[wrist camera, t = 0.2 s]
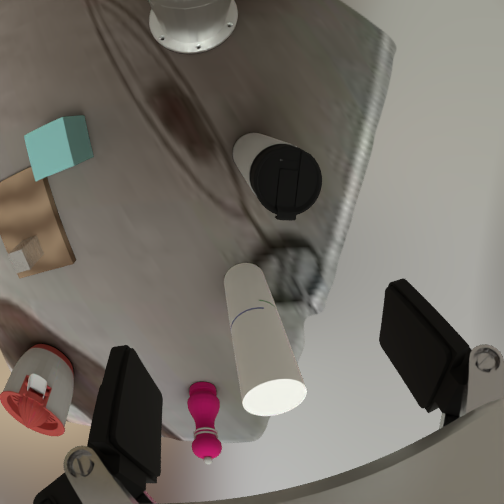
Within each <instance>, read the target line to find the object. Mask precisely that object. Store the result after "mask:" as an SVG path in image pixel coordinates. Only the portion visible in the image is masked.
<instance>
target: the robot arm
mask: <svg viewBox="0 0 504 504" xmlns="http://www.w3.org/2000/svg"><path fill="white" fill-rule="evenodd" d="M148 2H149V4H150V6H151V8H152V9H151V12H150V16H149V26H150V30H151V33H152V35H153V36H154V38H155V39H156V41H157V42H158V43H159V44H161V45H162V46H163V47H165V48H166V49H168V50H170V51H173V52H176V53H182V54H196V53H202V52H205V51H209V50H211V49H213V48H215V47H217V46H219V45H220V44H222V43H223V42H224V41H225V40H226V39H227V38H228V37H229V36H230V35H231V33H232V32H233V30H234V28H235V26H236V23H237V19H238V9H237V5H236V3H235V1H234V0H148ZM229 25H230V26H231V27H230V28H229V27H228V26H229ZM162 38H165V39H164V40H161V39H162ZM197 47H201V48H200V49H197ZM379 341H380V345H381V347H382V349H383V350H384V351H385V353H386V355H387V356H388V357H389V359H390V361H391V362H392V364H393V365H394V367H395V368H396V370H397V371H398V373H399V374H400V376H401V377H402V379H403V381H404V382H405V384H406V385H407V387H408V388H409V390H410V391H411V393H412V395H413V396H414V398H415V399H416V401H417V402H418V404H419V406H420V407H421V408H425V409H426V410H427V412H428V413H429V412H431V411H433V410H435V409H437V408H439V409H440V410H441V412H442V416H441V422H440V427H439V430H437V431H435V432H434V433H432V434H430V435H428V436H426V437H424V438H422V439H420V440H418V441H416V442H414V443H413V444H410V445H408V446H406V447H404V448H402V449H400V450H398V451H396V452H394V453H392V454H389V455H387V456H385V457H382V458H380V459H378V460H375V461H373V462H370V463H368V464H365V465H363V466H360V467H357V468H355V469H352V470H349V471H346V472H344V473H340V474H338V475H335V476H331V477H328V478H325V479H322V480H318V481H315V482H311V483H308V484H304V485H300V486H296V487H292V488H288V489H284V490H279V491H275V492H269V493H264V494H259V495H253V496H247V497H241V498H233V499H226V500H216V501H205V502H190V503H170V504H504V360H503V356H502V354H501V353H500V352H499V351H498V350H497V349H496V348H494V347H493V346H490V345H486V344H485V345H479V346H476V347H475V348H473V350H471V349H470V348H469V345H468V344H467V343H466V342H465V341H464V339H463V338H462V337H461V336H460V335H459V334H458V333H457V332H456V331H455V330H454V329H453V327H452V326H450V324H449V323H448V322H447V321H446V320H445V319H444V318H443V317H442V316H441V315H440V314H439V313H438V312H437V310H436V309H435V308H434V307H433V306H432V305H431V304H430V303H429V302H428V301H427V300H426V299H425V298H424V297H423V296H422V295H421V294H420V293H419V292H418V291H417V290H416V289H415V288H414V287H413V286H412V285H411V284H410V283H409V282H408V281H407V280H405V279H400V280H397V281H394V282H391V283H390V284H389V286H388V287H387V288H386V290H385V298H384V307H383V315H382V323H381V330H380V337H379ZM162 403H163V399H162V394H161V392H160V390H159V389H158V387H157V386H156V384H155V383H154V381H153V379H152V378H151V376H150V375H149V373H148V371H147V370H146V368H145V367H144V365H143V363H142V362H141V360H140V358H139V357H138V355H137V353H136V351H135V350H134V349H133V348H130V347H129V346H127V345H124V346H117V347H113V348H112V349H111V352H110V355H109V359H108V363H107V366H106V370H105V374H104V378H103V382H102V385H101V386H100V388H99V392H98V396H97V401H96V405H95V409H94V414H93V419H92V424H91V429H90V434H89V440H88V445H87V446H77V447H75V448H73V449H71V450H70V451H69V452H68V454H67V455H66V457H65V460H64V471H65V473H63V474H62V475H61V476H60V477H58V478H57V479H56V480H55V481H54V482H52V483H51V484H50V485H48V486H47V487H46V488H45V489H43V490H42V491H41V492H40V493H38V494H37V495H36V497H35V499H34V502H33V504H157V503H156V502H155V501H154V500H153V499H152V498H151V496H150V495H149V494H148V493H147V492H146V491H145V490H146V483H157V477H158V476H160V473H161V425H162ZM168 504H169V503H168Z"/></svg>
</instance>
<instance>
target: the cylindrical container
mask: <svg viewBox="0 0 504 504" xmlns="http://www.w3.org/2000/svg"><path fill="white" fill-rule="evenodd" d="M224 287H225V295H226V302H227V308H228V315H229V322H230V329H231V335H232V342H233V348H234V354H235V361H236V367H237V373H238V379H239V385H240V391H241V397H242V403H243V407H244V408H245V410H247V411H248V412H250V413H251V414H255V415H259V416H272V415H277V414H281V413H285V412H287V411H289V410H291V409H293V408H295V407H296V406H298V405H299V404H300V403H301V402H302V401H303V400H304V398H305V396H306V393H307V390H306V386H305V384H304V381H303V378H302V375H301V373H300V370H299V367H298V365H297V362H296V359H295V357H294V354H293V351H292V348H291V346H290V343H289V340H288V338H287V335H286V332H285V330H284V327H283V324H282V322H281V319H280V316H279V313H278V311H277V308H276V305H275V303H274V300H273V297H272V295H271V292H270V289H269V287H268V284H267V281H266V279H265V276H264V273H263V272H262V270H261V269H260V268H259V267H258V266H256V265H254V264H251V263H240V264H237V265H235V266H233V267H232V268H230V269H229V270H228V272H227V273H226V275H225V277H224Z"/></svg>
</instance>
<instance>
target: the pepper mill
mask: <svg viewBox="0 0 504 504" xmlns="http://www.w3.org/2000/svg"><path fill="white" fill-rule="evenodd" d="M189 395H190V397H189V399H188V409H189V411H190V413H191V415H192V417H193V418H194V420H195V423H196V430H195V431H194V439H195V440H194V441H193V443H192V450H193V452H194V454H195V455H196V456H198V457H199V458H202V459H203V460H204V463H206V464H211V463H212V459H213V458H215V457H217V456H218V455H219V454H220V452H221V450H222V446H221V442H220V441H219V440H218V439H217V438H218V435H217V434H218V432H217V431H216V430H215V427H214V421H215V418H216V416H217V414H218V411H219V407H220V402H219V399H218V398H217V397H216V395H217V394H216V388H215V386H214V385H213V384H211V383H208V382H197V383H194V384H193V385H191V387H190V389H189Z"/></svg>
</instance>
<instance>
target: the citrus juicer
mask: <svg viewBox="0 0 504 504" xmlns="http://www.w3.org/2000/svg"><path fill="white" fill-rule="evenodd" d="M73 386H74V373H73V367H72V364H71V363H70V361H69V360H68V358H67V357H66V356H65V355H64V354H63V353H61V352H60V351H59V350H57V349H55V348H54V347H51V346H49V345H45V344H37V345H35V346H33V347H31V348H30V349H28V350H27V352H26V353H24V354H23V355H22V357H21V358H20V359H19V360H18V362H17V364H16V365H15V367H14V369H13V371H12V373H11V375H10V377H9V379H8V382H7V384H6V386H5V388H4V390H3V392H2V393H1V394H0V400H1V403H2V405H3V406H4V408H5V409H6V410H7V411H8V413H9V414H11V415H12V416H13V417H14V418H15V419H16V420H17V421H19V422H20V423H22V424H23V425H25V426H26V427H27V428H30V429H32V430H34V431H36V432H39V433H42V434H45V435H49V436H60V435H62V434H63V433H64V432H65V428H64V426H65V422H66V418H67V415H68V411H69V407H70V404H71V400H72V395H73Z"/></svg>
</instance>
